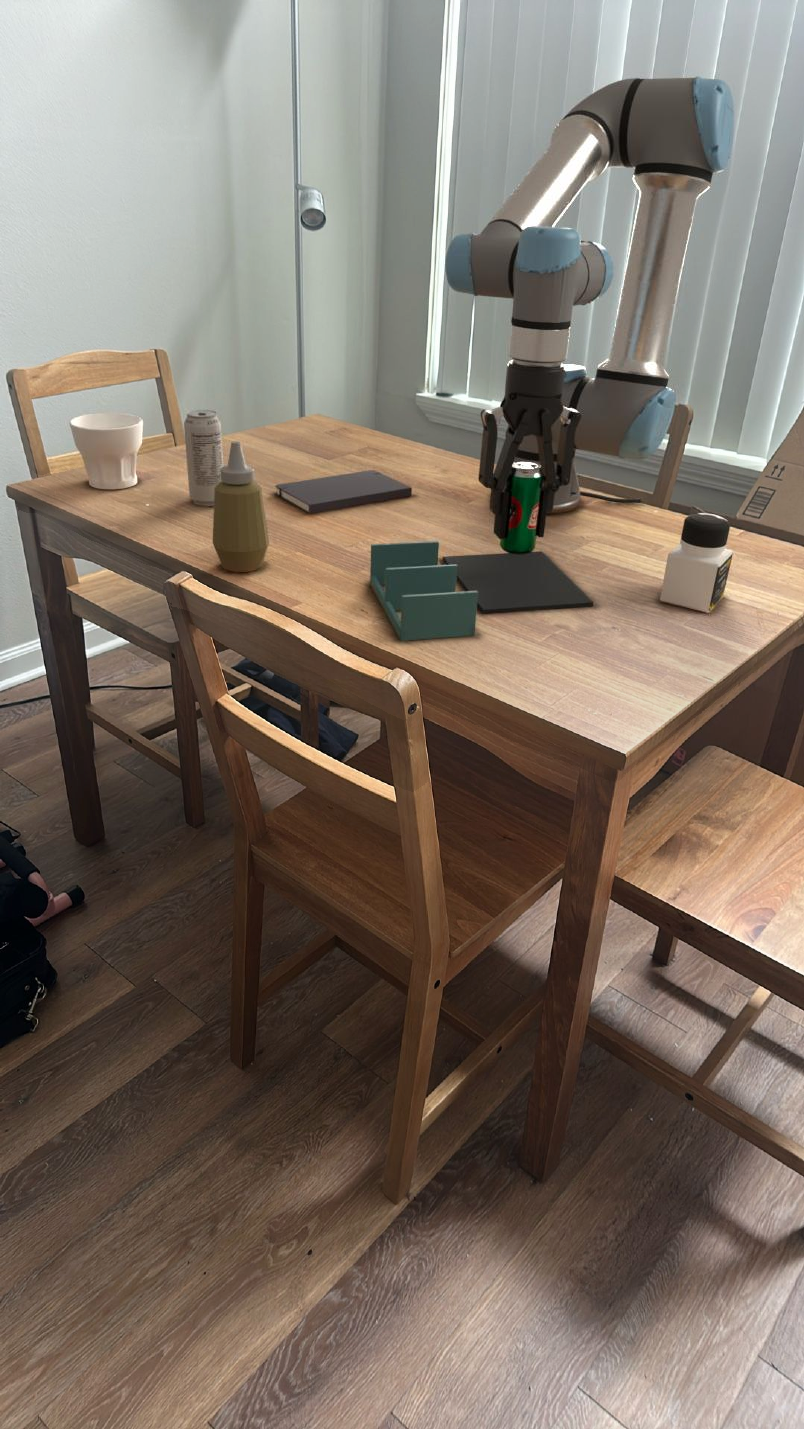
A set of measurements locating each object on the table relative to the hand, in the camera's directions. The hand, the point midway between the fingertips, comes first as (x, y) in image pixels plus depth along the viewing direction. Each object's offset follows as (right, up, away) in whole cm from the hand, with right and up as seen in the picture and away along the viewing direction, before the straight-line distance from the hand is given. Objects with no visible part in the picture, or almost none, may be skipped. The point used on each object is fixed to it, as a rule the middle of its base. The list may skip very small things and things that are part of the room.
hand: (518, 534), depth 134 cm
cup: (-69, +16, +38) cm, 80 cm away
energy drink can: (-50, +11, +31) cm, 60 cm away
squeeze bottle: (-40, -4, +5) cm, 40 cm away
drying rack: (-14, -11, -6) cm, 19 cm away
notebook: (-27, +14, +37) cm, 48 cm away
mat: (0, -6, +4) cm, 7 cm away
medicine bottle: (+25, -9, +1) cm, 26 cm away
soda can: (0, -2, +1) cm, 2 cm away
